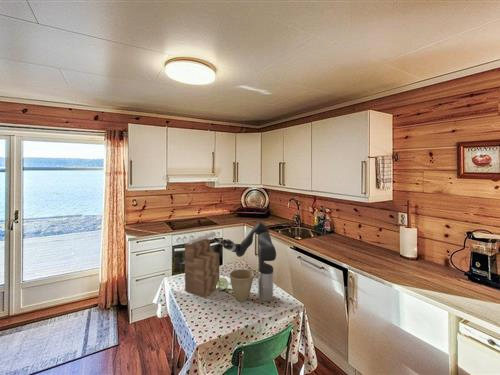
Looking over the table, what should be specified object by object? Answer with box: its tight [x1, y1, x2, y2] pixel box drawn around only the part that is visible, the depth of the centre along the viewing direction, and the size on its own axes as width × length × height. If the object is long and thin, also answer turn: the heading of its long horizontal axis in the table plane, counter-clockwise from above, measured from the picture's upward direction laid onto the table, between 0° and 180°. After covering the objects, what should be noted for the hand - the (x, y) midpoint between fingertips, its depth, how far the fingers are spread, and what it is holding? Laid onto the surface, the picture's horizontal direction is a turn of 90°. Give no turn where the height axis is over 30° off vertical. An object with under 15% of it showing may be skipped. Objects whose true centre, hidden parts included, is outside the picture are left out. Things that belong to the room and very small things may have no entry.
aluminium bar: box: [188, 231, 216, 245], centre depth 170 cm, size 24×3×3 cm, turn 149°
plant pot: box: [229, 268, 255, 303], centre depth 154 cm, size 15×15×16 cm
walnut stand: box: [184, 238, 220, 299], centre depth 165 cm, size 16×16×32 cm
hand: (218, 239), depth 185 cm, fingers open, 8 cm apart
